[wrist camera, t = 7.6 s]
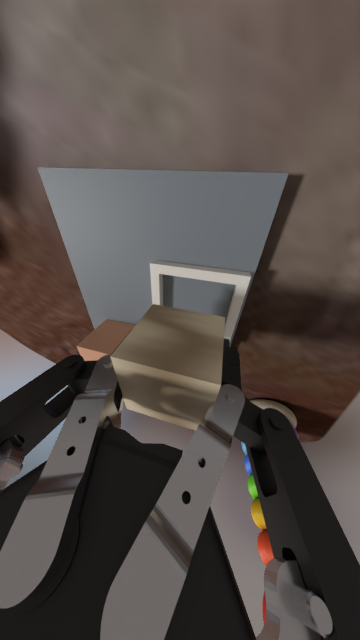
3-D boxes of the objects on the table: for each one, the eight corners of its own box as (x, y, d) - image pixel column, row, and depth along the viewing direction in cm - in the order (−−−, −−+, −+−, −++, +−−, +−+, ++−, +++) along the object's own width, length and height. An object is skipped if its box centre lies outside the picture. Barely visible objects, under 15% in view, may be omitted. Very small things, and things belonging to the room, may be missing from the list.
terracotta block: (114, 346, 23) (90, 375, 19) (106, 318, 20) (76, 346, 16) (146, 354, 22) (127, 386, 18) (142, 326, 19) (120, 357, 15)
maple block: (155, 352, 14) (126, 408, 10) (153, 303, 11) (110, 356, 7) (212, 366, 13) (203, 433, 9) (225, 317, 10) (221, 385, 6)
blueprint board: (105, 343, 25) (96, 352, 23) (49, 169, 13) (24, 164, 11) (220, 371, 22) (219, 384, 20) (284, 175, 10) (294, 169, 8)
